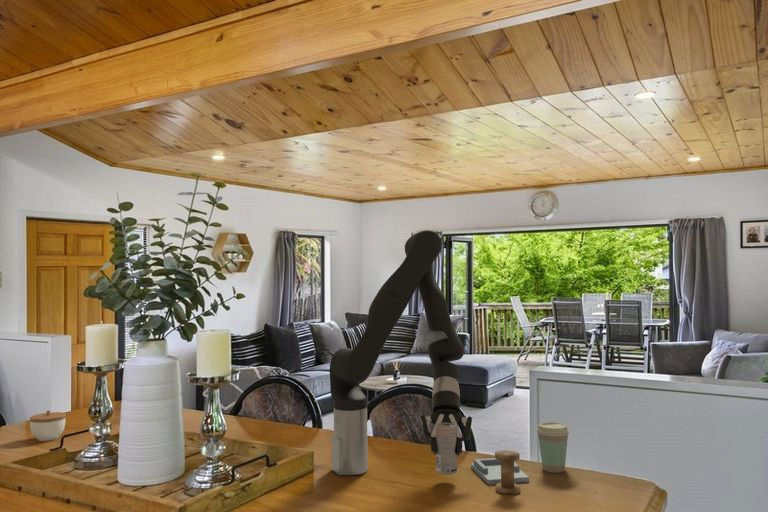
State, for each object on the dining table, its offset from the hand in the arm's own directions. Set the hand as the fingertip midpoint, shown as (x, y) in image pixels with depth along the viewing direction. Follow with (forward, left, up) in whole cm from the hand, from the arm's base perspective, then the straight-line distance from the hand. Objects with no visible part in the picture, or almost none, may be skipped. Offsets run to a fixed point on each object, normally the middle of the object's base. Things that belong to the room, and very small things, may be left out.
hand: (446, 453), depth 155 cm
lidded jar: (-97, +99, -8) cm, 139 cm away
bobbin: (+11, -11, -8) cm, 17 cm away
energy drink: (+1, +2, -6) cm, 6 cm away
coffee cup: (+32, -3, -8) cm, 33 cm away
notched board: (+16, 0, -8) cm, 18 cm away
